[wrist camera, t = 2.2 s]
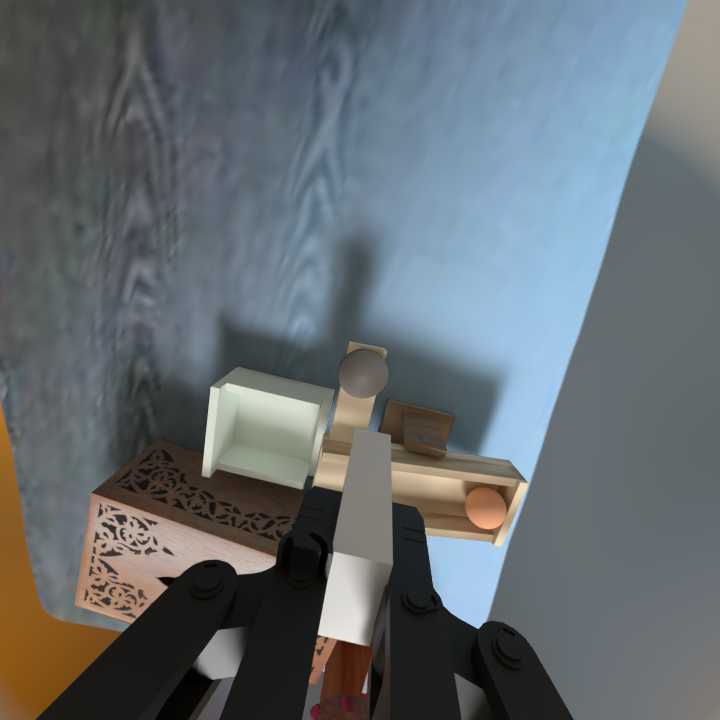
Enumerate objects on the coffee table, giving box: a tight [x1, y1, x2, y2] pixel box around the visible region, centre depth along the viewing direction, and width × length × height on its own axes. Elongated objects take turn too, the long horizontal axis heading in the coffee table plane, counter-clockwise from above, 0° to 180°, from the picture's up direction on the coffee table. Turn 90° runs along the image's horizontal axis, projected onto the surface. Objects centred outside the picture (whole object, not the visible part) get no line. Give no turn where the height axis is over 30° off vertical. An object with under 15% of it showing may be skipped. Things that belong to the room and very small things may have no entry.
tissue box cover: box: [75, 439, 338, 686], centre depth 38 cm, size 26×14×10 cm, turn 70°
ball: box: [465, 487, 507, 529], centre depth 32 cm, size 4×4×4 cm
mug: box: [310, 637, 373, 720], centre depth 39 cm, size 15×8×15 cm, turn 62°
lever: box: [312, 341, 529, 546], centre depth 30 cm, size 16×18×3 cm
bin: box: [202, 367, 335, 490], centre depth 36 cm, size 10×11×6 cm
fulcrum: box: [380, 399, 455, 458], centre depth 35 cm, size 10×7×7 cm
